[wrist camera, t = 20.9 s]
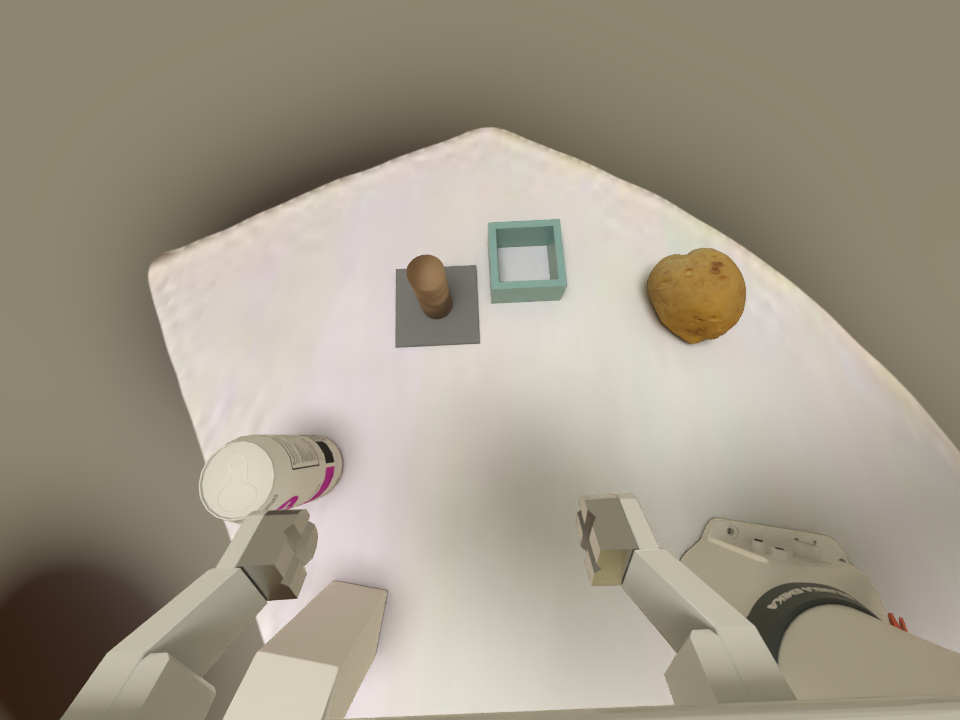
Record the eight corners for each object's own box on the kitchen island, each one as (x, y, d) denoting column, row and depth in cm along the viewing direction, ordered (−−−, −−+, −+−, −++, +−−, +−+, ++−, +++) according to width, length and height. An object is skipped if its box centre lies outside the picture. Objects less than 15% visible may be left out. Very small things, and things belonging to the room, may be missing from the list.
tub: (553, 238, 54) (559, 219, 49) (559, 300, 52) (566, 285, 47) (488, 242, 54) (488, 222, 49) (491, 303, 52) (491, 289, 47)
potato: (673, 360, 49) (719, 341, 40) (623, 287, 52) (655, 253, 42) (732, 327, 50) (791, 301, 40) (681, 257, 53) (725, 216, 43)
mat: (476, 266, 53) (475, 265, 52) (479, 343, 50) (479, 342, 50) (396, 270, 53) (396, 269, 53) (396, 347, 50) (395, 346, 50)
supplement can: (346, 494, 46) (281, 520, 32) (283, 502, 46) (189, 533, 32) (343, 432, 48) (280, 429, 33) (283, 440, 48) (193, 441, 33)
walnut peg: (452, 290, 52) (444, 254, 42) (452, 318, 51) (444, 289, 41) (422, 290, 52) (407, 255, 42) (421, 319, 51) (405, 289, 41)
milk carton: (333, 579, 44) (222, 683, 26) (388, 589, 44) (316, 702, 25) (319, 644, 43) (190, 803, 24) (376, 655, 42) (289, 825, 24)
